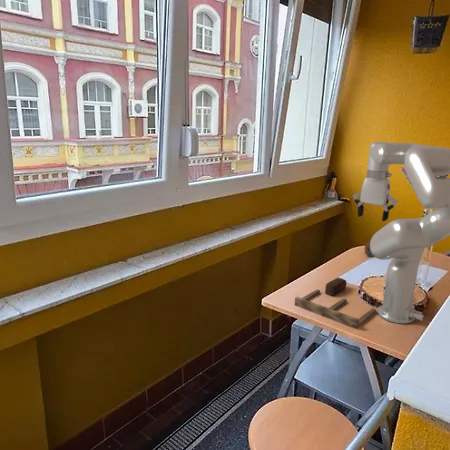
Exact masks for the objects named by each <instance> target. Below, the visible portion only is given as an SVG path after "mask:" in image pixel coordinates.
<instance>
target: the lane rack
mask: <svg viewBox="0 0 450 450" xmlns="http://www.w3.org/2000/svg"><path fill="white" fill-rule="evenodd" d="M320 294H321V290H319V289H315V290H313V291H311V292H310V293H308V294H307V295H305V296H302V297H300V296H296V297H295V298H294V306H296V307H298V308H301V309H304V310H306V311H309V312H311V313H313V314H316V315H319V316H322V317H324V318H327V319H329V320H332V321H335V322H337V323H340V324H343V325H345V326H348V327H349V328H352V329H355V330H357V329H358V328H359V327H360V326H361V325H363V324H364V323H365V322H366V321H368V320H369V319H370V318H371V317H372V316H374V315H375V314H376V313H377V309H376V308H373V307H371V309H369V310H368V311H366V312H365V313H364V314H363V315H362V316H360V317H359V318H356V317H353V316H351V315H348V314H346V313H342V312H340V311H337V310H338V309H340V308H342V306H344V305H345V304H347V302H348V299H347V298H341V299H340V300H339V301H337V302H336V303H334V304H333V305H331V306H330V307H327V306H323V305H321V304H319V303H316V302H313V301H310V300H311V299H313V298H314V297H316V296H318V295H320Z"/></svg>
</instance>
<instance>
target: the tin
mask: <svg viewBox="0 0 450 450" xmlns="http://www.w3.org/2000/svg"><path fill="white" fill-rule="evenodd" d="M370 242H371V239H370V240H367V242H366V243H365V245H364V255H366V256H368V257H370V258H376V257H375V256H374V255H373V254H372V252H371V250H370Z"/></svg>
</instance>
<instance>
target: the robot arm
mask: <svg viewBox="0 0 450 450" xmlns="http://www.w3.org/2000/svg"><path fill="white" fill-rule="evenodd" d="M367 162H368V163H367V170H366V177H365V178H364V180H363V183H362V186H361V191H359V192H355V193H354V194H352V197H353V200H354V203H355V204H356V207H357V217H359V218H360V217H362V216H364V208H365V206H364V205H365V204H367V205H373V206H380V207H382V208H383V210H384V211H382V218H381V221H382V222H385V221H387V220H388V219H389V216H390V210H392V209H394V208H395V206H396V205H397V204H398V202H399V201H398V200H397V199H396V198H394V197H393V196H391V180H390V178H392V175H393V174H392V173H390V171H389V168H390V165H404V169H405V172H406V175H407V178H408V180H409V183H410V184H411V186H412V188H413V191H414V193H415V195H416V197H417V200H418V201H419V203H421V205H422V206H423V207H424V208H427V209H431V210H432V211H431V212H429V213H428V214H427V215H424V216H423V217H416V218H398V219H394V220H392V221H390V222H389V223H387V224H385V225H384V226H383V227H381V228H380V229H379V230H377V231H376V232H375V233H374V234H373V235H372V237H371V239H370V240H371V242H370V250H371V252H372V254H373V255H374V256H375V257H374V258H376V259H379V260H390V262H389V263H388V266H387V271H386V278H385V286H384V293H383V298H382V299H383V300H382V301H383V302H382V305H379V306H378V307H377V309H376V313H377V315H378V316H380V317H381V318H382V319H384V320H385V321H388V322H390V323H396V324H401V325H403V324H410V323H413V322H414V321H415V320H418V321H421V322H422V321H423V320H424V315H423V312H421V311H418V310H416V309H415V305H413V304H414V303H413V302H414V294H415V290H416V289H415V288H416V281H417V276H418V270H419V266H420V262H421V259H422V256H423V254H424V251H425V248H429V247H431V246H433V245H435V244H437V243H439V242H441V241H443V240H444V239H446V238H448V237H450V177H447V178H446V177H445V176H447V175H450V148H449V147H443V146H436V145H435V146H434V145H426V144H422V143H421V144H420V143H414V142H413V143H412V142H387V141H373V142H371V143H370V145H369V151H368V160H367ZM436 177H437V178H436ZM439 177H442V178H439ZM443 177H445V178H443ZM359 196H360V199H359ZM390 202H391V204H390ZM389 204H390V205H389ZM433 209H434V210H433Z"/></svg>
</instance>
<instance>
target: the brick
mask: <svg viewBox="0 0 450 450" xmlns="http://www.w3.org/2000/svg"><path fill="white" fill-rule="evenodd" d="M346 287H347V281H346V280H345V279H344V278H341V277H336V278H334V279H332V280H331V281H329V282H327V283H326V285H325V288H324V289H325V291H324V294H325V295H327V296H331V297H334V296H337V295H338V294H340V293H342V292H343V291H344V290H346Z"/></svg>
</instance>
